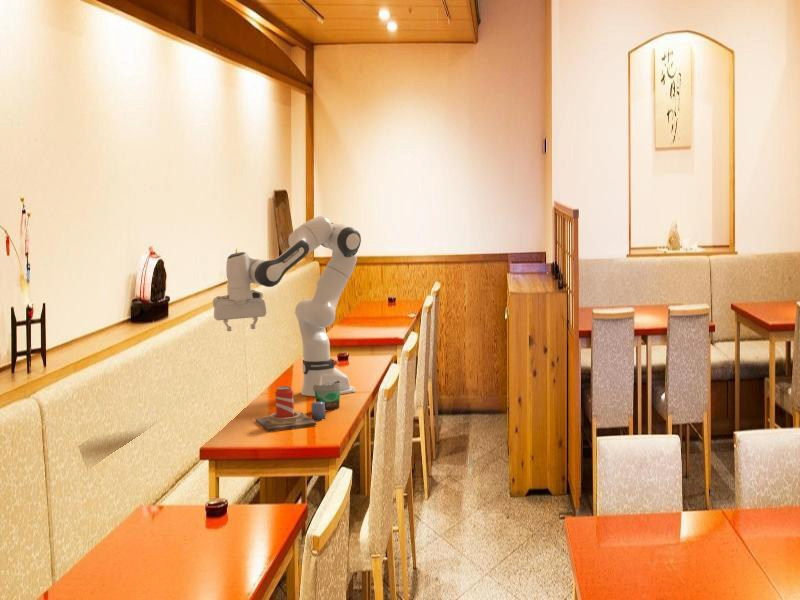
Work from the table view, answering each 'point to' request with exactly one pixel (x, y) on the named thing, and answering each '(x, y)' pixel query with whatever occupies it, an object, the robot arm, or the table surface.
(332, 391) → the food container
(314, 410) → the lavender rounded cylinder
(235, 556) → the table surface
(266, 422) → the square plate with ring
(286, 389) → the beverage can
